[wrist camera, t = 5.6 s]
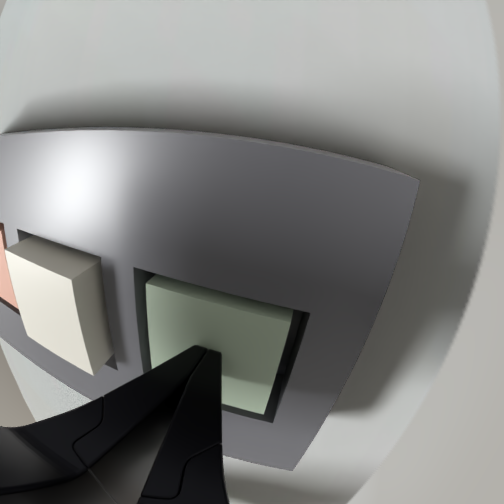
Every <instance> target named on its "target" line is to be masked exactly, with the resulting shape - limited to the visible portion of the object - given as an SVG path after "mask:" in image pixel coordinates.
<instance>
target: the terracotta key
mask: <svg viewBox="0 0 504 504" xmlns="http://www.w3.org/2000/svg"><path fill="white" fill-rule="evenodd" d="M6 248H7V242H6V236H5V229H4V224H3V223H1V222H0V297H2V298H3V299H4V300H6V301H7V302H9V303H10V304H12V305H13V306H14V307H16V308H17V309H19V308H18V305H17V301H16V297H15V294H14V290H13V286H12V282H11V278H10V274H9V269H8V265H7V260H6V255H5V250H4V249H6Z"/></svg>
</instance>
